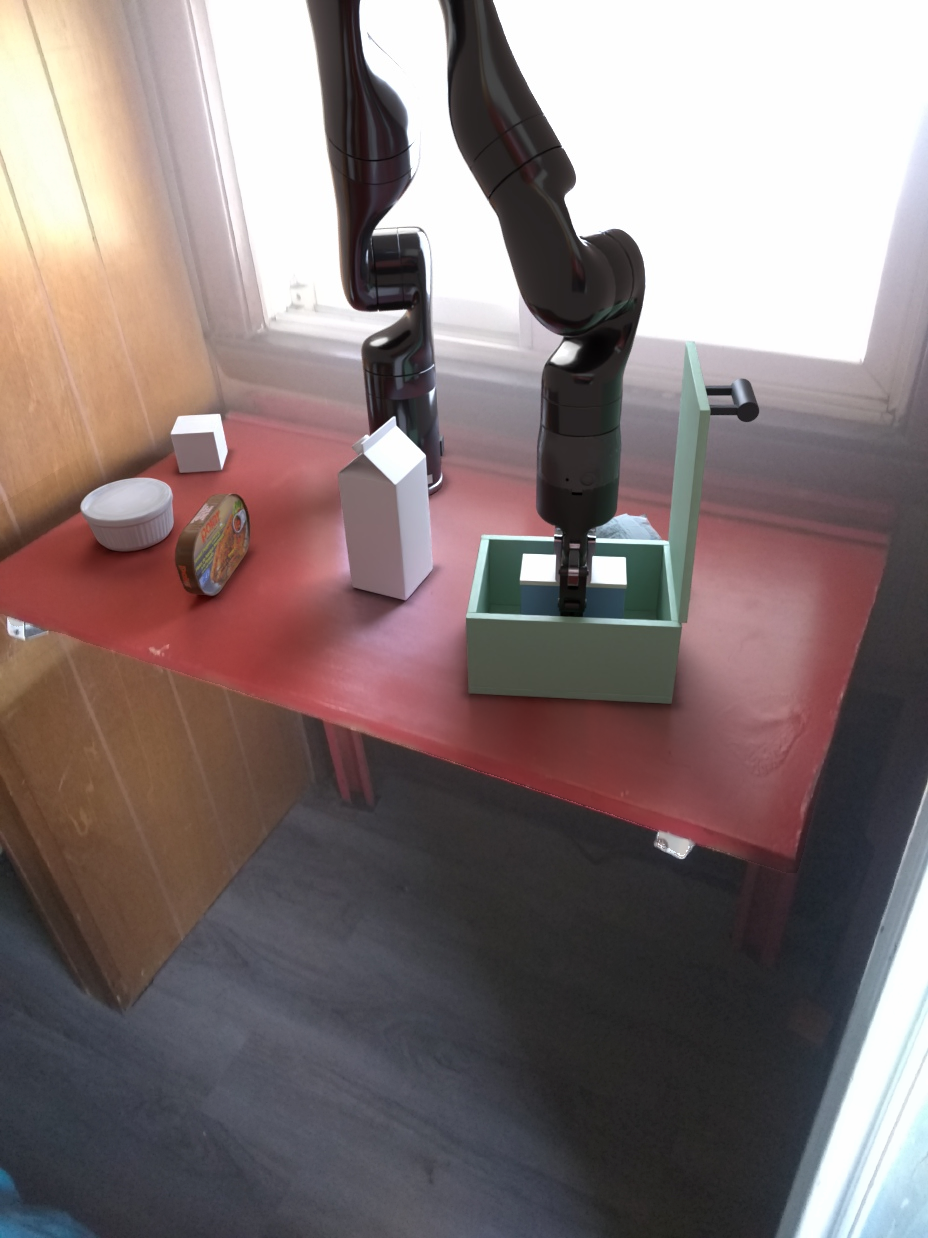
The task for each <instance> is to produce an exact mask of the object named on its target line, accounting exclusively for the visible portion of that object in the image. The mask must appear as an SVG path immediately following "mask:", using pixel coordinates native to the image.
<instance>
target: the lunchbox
mask: <svg viewBox="0 0 928 1238" xmlns="http://www.w3.org/2000/svg"><path fill="white" fill-rule="evenodd" d="M477 551H478V552H477V558H476V563H475V567H474V573H473V578H472V583H471V589H470V594H469V599H468V604H467V608H466V614H465V635H466V658H467V659H466V661H467V682H468V683H467V685H468V694H474V695H493V696H512V697H531V698H551V699H555V698H556V699H568V700H569V699H570V700H571V699H573V700H589V701H607V702H608V701H609V702H626V703H627V702H628V703H646V704H647V703H648V704H665V705H667V704H669V705H671V704H672V703H673V698H674V697H673V696H674V688H675V682H676V674H677V668H678V667H677V666H678V660H679V653H680V644H681V637H682V630H683V623H678V617H677V608H676V599H675V590H674V582H673V573H672V564H671V555H670V547H669V540H664V541H662V540H631V539H600V538H596V551H595V554H594V555H593V556H600V557H625V558H626V575H627V588H626V589H625V599H624V610H623V619H610V618H586V617H563V616H539V615H521V585H520V574H521V566H522V558H523V554H544V555H555V553H554V536H535V535H507V534H506V535H504V534H501V535H500V534H481V536H480V541H479V547H478V550H477Z"/></svg>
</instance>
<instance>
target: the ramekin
mask: <svg viewBox="0 0 928 1238" xmlns="http://www.w3.org/2000/svg"><path fill="white" fill-rule="evenodd" d="M173 500H174V495H173V491H172V488H171V487H170V485H168V484H167V483H166V482H164V481H163V480H159V479H156V478H151V477H132V478H125V479H120V480H116V481H113V482H109V483H107V484H104V485H101V486H99V487H98V488H96V489H94V490H92V491H91V492H89V493H88V494H87V495H85V497H84V498H83V499H82V500H81V503H80V506H79V508H80V513H81V515H82V517H83V519H84V520H85V521H86V523H87V524H88V527H89V528H90V530H91V532H92V534H93V536H94V537H95V539H96V541H97V542H98V543H99V544H100V545H102V546H103V547H104V548H106V549H108V550H112V551H114V552H135V551H140V550H144V549H147V548H150V547H153V546H155V545H157V544H159V543H161V542H162V541H164V539H166V538H167V537H168V536H169V534H170V533H171V531H172V530H173V527H174V522H175V520H174V510H173Z"/></svg>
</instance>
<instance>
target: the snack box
mask: <svg viewBox="0 0 928 1238" xmlns="http://www.w3.org/2000/svg"><path fill="white" fill-rule="evenodd" d="M561 565H562V558H561ZM586 565H587V558H586V564H585V566H586ZM555 569H556V555H544V554H523V558H522V566H521V574H520V585H521V615H539V616H560V611H559V607H558V597H559V590H560V584H559V583H557V582H556V580H555ZM626 588H627V575H626V558H625V557H600V556H593V557H592V576H591V582H590V583H589V584H588V585H586V598H587V600H586V603H587V607H586V609H585V612H583V617H586V618H610V619H623V610H624V599H625V589H626ZM586 603H585V604H586ZM557 607H558V608H557Z"/></svg>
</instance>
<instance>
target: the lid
mask: <svg viewBox="0 0 928 1238" xmlns="http://www.w3.org/2000/svg"><path fill="white" fill-rule="evenodd" d="M684 347H685V348H684V357H683V368H682V380H681V391H680V401H679V413H678V423H677V424H678V425H677V426H678V427H677V437H676V445H675V446H676V447H675V458H674V470H673V480H672V490H671V501H670V515H669V523H668V525H669V526H668V536H667V537H668V541H669V547H670V555H671V564H672V573H673V582H674V590H675V599H676V608H677V617H678V623H682V624H687V623H688V619H689V609H690V601H691V591H692V583H693V582H692V581H693V574H694V564H695V556H696V546H697V537H698V530H699V529H698V528H699V519H700V512H701V511H700V510H701V502H702V491H703V483H704V475H705V474H704V473H705V464H706V455H707V448H708V438H709V429H710V421H711V420H710V419H711V416H736V417H737V419H738V420H739V421H740V422H743V423H750V422H753V421H755V420H756V419H757V418H758V416H759V414H760V407H759V404H758V401H757V398H756V394H755V392H754V389H753V386H752V383H751V381H749V380H748V379H746V378H738V379H735V380H734V381H732V383H731V384H729V385H727V384H726V385H724V384H723V385H706V384H705V381H704V376H703V370H702V367H701V363H700V359H699V354H698V351H697V350H698V349H697V345H696V342H695V341H694V340H692V341H685V345H684ZM713 396H714V397H720V396H723V397H725V396H728V397H729V396H730V397H731V399H732V402H733V404H710V402H709V398H708V397H713Z"/></svg>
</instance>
